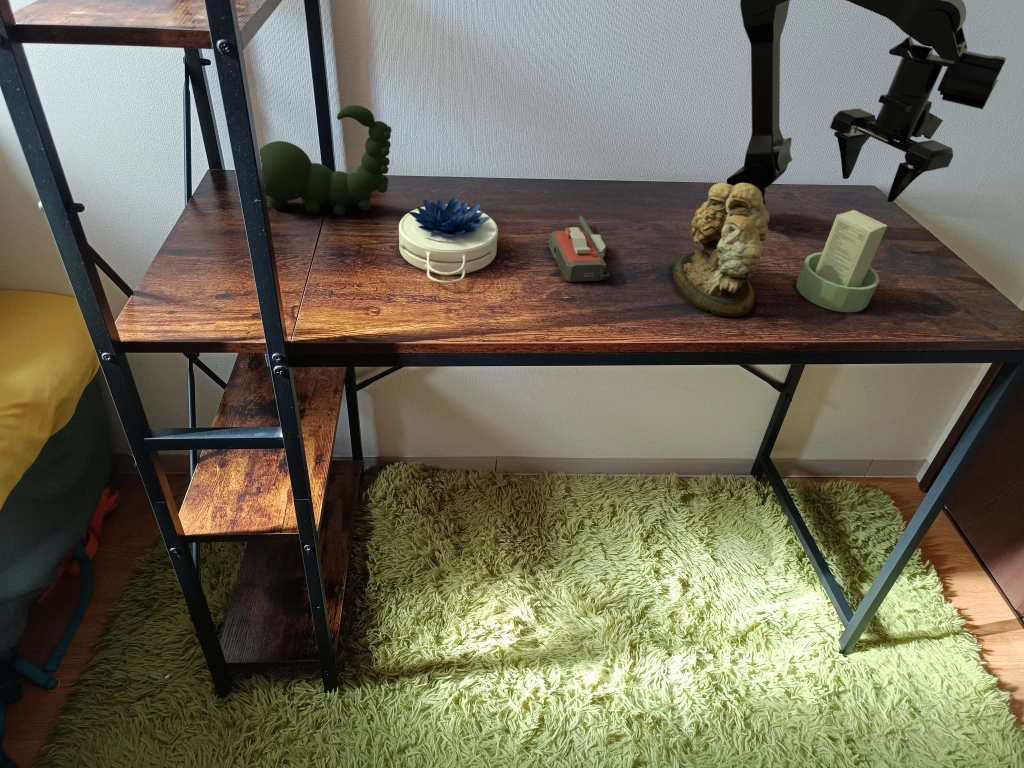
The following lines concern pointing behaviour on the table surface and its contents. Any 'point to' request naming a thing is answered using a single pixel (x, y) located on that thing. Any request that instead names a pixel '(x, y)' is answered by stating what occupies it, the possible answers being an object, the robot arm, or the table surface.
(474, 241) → the white round gift box
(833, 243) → the cosmetic box
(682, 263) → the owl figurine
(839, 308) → the dish
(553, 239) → the walkie-talkie
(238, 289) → the table surface
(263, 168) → the toy figurine
